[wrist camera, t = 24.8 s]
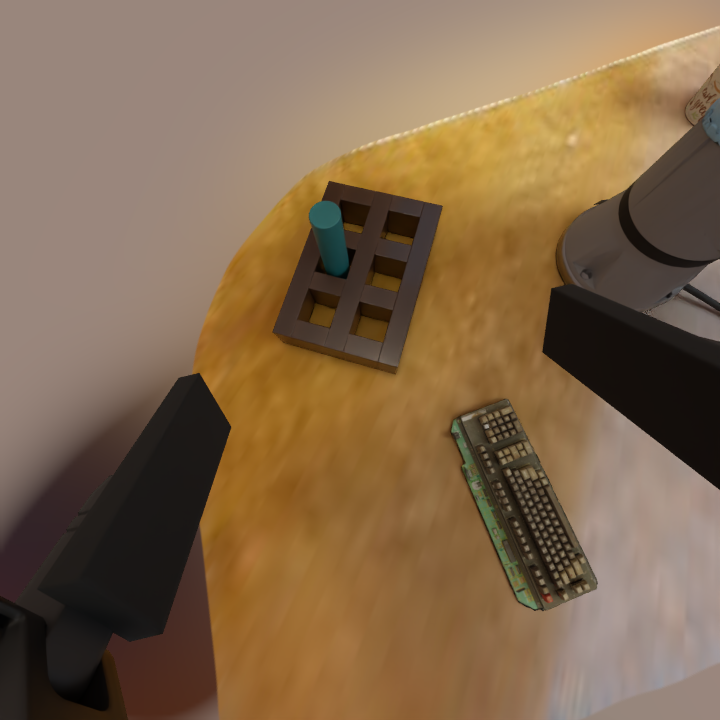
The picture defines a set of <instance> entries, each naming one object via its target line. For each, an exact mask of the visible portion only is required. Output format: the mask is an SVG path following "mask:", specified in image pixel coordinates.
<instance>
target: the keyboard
mask: <svg viewBox="0 0 720 720" xmlns="http://www.w3.org/2000/svg"><path fill="white" fill-rule="evenodd" d="M519 420H520V419H519ZM519 420H518V417H517V415H516V413H515V411H514V409H513V407H512V405H511V403H510V402H509V400H508V399H504V400H503V401H500V402H497V403H495V404H491V405H488V406H486V407H484V408H481V409H479V410H476V411H473V412H470V413H468V414H466V415H463V416H460V417H458V418H456V419H454V420H453V424H452V427H451V428H452V429H451V434H452V436H453V438H454V439H455V441H456V442H457V446H458V448H459V451H460V453H461V455H462V457H463V459H464V461H465V464H463V465H462V467H461V468H462V471H463V473H464V475H465V477H466V480H467V482H468V485H469V487H470V489H471V492H472V494H473V496H474V499H475V501H476V503H477V506H478V509H479V512H480V514H481V516H482V518H483V520H484V522H485V525H486V528H487V530H488V532H489V534H490V537H491V540H492V542H493V544H494V547H495V549H496V551H497V554H498V556H499V559H500V561H501V562H502V564H503V567H504V570H505V573H506V575H507V577H508V580H509V582H510V585H511V587H512V589H513V590H514V594H515V595H516V597H517V599H518V602H519V603H521V604H523V605H524V606H526V607H529V608H531V609H533V610H534V611H536V610H538V609H541V610H542V611H544V610H545V611H546V610H549V609H551V608H553V607H556V606H558V605H560V604H562V603H565V602H567V601H569V600H572V599H574V598H576V597H579V596H581V595H583V594H585V593H589V592H591V591H593V590H595V589H597V584H598V583H597V579H596V577H595V575H594V573H593V571H592V569H591V567H590V565H589V563H588V560H587V558H586V556H585V554H584V552H583V550H582V548H581V546H580V544H579V542H578V540H577V538H576V536H575V534H574V532H573V529H572V527H571V525H570V523H569V521H568V519H567V517H566V515H565V513H564V511H563V509H562V506H561V505H560V503H559V502H558V499H557V497H556V494H555V493H554V491H553V488H552V485H550V482H549V479H548V477H547V475H546V474H545V471H544V469H543V468H542V466H541V464H540V463H541V462H539V459H538V457H537V454H535V452H534V451H535V450H533V449H534V448H532V446H531V444H530V442H529V440H528V438H527V436H526V434H525V432H524V429H523V427H522V425H521V424H522V423H520V421H519Z"/></svg>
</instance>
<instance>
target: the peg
mask: <svg viewBox="0 0 720 720" xmlns="http://www.w3.org/2000/svg"><path fill="white" fill-rule="evenodd" d="M309 220H310V223H311V226H312V229H313V232H314V236H315V239H316V242H317V245H318V248H319V251H320V254H321V258H322V261H323V264H324V267H325V270H326V273H327V275H331V276H334V277H338V278H342V279H347V276H348V273H349V270H350V266H349V260H348V254H347V248H346V241H345V235H344V229H343V223H342V217H341V211H340V209H339V207H338V206H337V205H336V204H335V203H333V202H331V201H321V202H318V203H316V204H315V205H314V206H313V207H312V208H311V210H310V212H309Z"/></svg>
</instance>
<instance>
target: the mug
mask: <svg viewBox="0 0 720 720" xmlns="http://www.w3.org/2000/svg"><path fill="white" fill-rule="evenodd" d="M718 98H720V64H719V66H718V67H717V68H716V69H715V71H714V72H713V73H712V74H711V76H710V77H709V78H708V79H707V81H706V82H705V83H704V84H703V86H702V87H701V88H700V89H699V91H698V92H697V93H696V94H695V96H694V97H693V98H692V99H691V101H690V102H689V103H688V105H687V107H686V111H685V112H686V116H687V118H688V120H689V121H690V122H691V123H692V124H693V125H696V124H697V123H698V122H699V121H700V120H701V119H702V118H703V117H704V116H705V112H706V111H707V110H708V109H709V107H710V106H711V105H712V104H713V103H714V102H715V101H716V100H717V99H718Z"/></svg>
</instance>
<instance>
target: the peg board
mask: <svg viewBox="0 0 720 720" xmlns="http://www.w3.org/2000/svg"><path fill="white" fill-rule="evenodd" d="M322 201H331V202H333V203H335V204H336V205H337V206H338V207H339V209H340V211H341V217H342V223H343V222H348V223H352V224H357V225H361V226H364V228H363V231H362V234H360V233H356V232H352V231H347V230H344V235H345V241H346V248H347V254H348V260H349V266H351V267H350V270H349V273H348V276H347V279H342V278H338V277H334V276H331V275H327V274H325V273H326V270H325V267H324V264H323V261H322V258H321V254H320V251H319V248H318V245H317V242H316V239H315V236H314V232H313V229H312V228H311V230H310V233H309V236H308V238H307V241H306V244H305V246H304V249H303V252H302V254H301V257H300V260H299V262H298V265H297V268H296V270H295V273H294V276H293V278H292V281H291V284H290V286H289V289H288V292H287V294H286V297H285V300H284V302H283V305H282V308H281V310H280V313H279V316H278V318H277V321H276V324H275V326H274V329H273V333H274V334H275V335H276V336H277V337H278V338H279V339H280V340H281V341H283V342H284V343H287V344H291V345H294V346H298V347H301V348H305V349H308V350H312V351H315V352H319V353H322V354H326V355H330V356H333V357H336V358H340V359H343V360H347V361H350V362H354V363H357V364H361V365H365V366H368V367H372V368H375V369H379V370H382V371H386V372H389V373H393V374H395V373H396V371H397V368H398V364H399V361H400V357H401V354H402V350H403V347H404V343H405V339H406V336H407V332H408V329H409V325H410V322H411V318H412V314H413V311H414V307H415V304H416V300H417V297H418V293H419V289H420V286H421V282H422V279H423V275H424V272H425V268H426V264H427V261H428V257H429V254H430V250H431V247H432V243H433V239H434V236H435V232H436V229H437V225H438V222H439V218H440V214H441V211H442V207H443V206H441V205H437V204H432V203H427V202H423V201H418V200H414V199H409V198H405V197H400V196H395V195H391V194H387V193H382V192H377V191H372V190H367V189H363V188H358V187H354V186H349V185H345V184H340V183H335V182H331V181H329V182H328V185H327V188H326V190H325V193H324V196H323V198H322ZM387 231H388V232H391V233H395V234H399V235H404V236H408V237H412V238H414V240H413V243H412V246H411V245H407V244H403V243H399V242H394V241H390V240H386V239H385V237H386V234H387ZM374 272H377V273H381V274H385V275H389V276H393V277H397V278H401V279H402V281H401V284H400V287H399V291H398V292H394V291H390V290H386V289H382V288H378V287H374V286H370V285H371V282H372V279H373V275H374ZM315 302H316V303H319V304H323V305H326V306H330V307H334V308H337V309H336V312H335V315H334V318H333V321H332V324H331V327H330V328H327V327H324V326H320V325H316V324H313V323H309V319H310V316H311V313H312V310H313V308H314V305H315ZM361 315H364V316H367V317H371V318H375V319H379V320H382V321H386V322H389V325H388V328H387V332H386V335H385V338H384V342H383V343H382V342H379V341H375V340H371V339H368V338H364V337H360V336H357V335H355V332H356V329H357V326H358V323H359V320H360V316H361Z"/></svg>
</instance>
